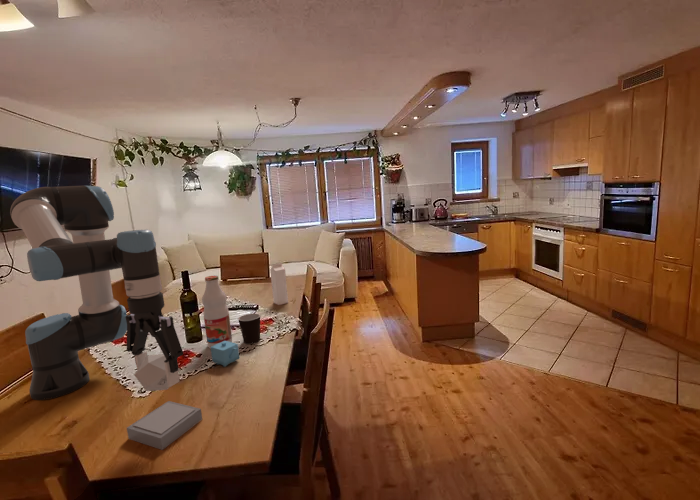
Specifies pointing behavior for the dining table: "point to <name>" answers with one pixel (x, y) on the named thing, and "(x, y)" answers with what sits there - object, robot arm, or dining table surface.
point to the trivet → (164, 424)
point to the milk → (279, 284)
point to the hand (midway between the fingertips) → (159, 380)
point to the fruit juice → (216, 313)
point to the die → (153, 373)
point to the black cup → (250, 328)
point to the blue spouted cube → (225, 353)
